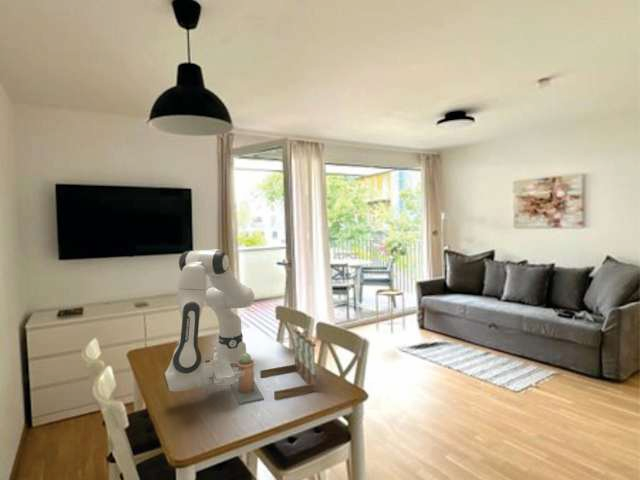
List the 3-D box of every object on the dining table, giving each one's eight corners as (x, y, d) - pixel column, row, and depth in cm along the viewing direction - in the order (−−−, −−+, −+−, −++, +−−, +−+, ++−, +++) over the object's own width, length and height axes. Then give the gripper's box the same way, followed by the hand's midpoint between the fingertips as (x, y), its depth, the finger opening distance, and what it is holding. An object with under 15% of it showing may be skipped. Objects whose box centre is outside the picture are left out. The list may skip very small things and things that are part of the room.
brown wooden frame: (260, 376, 171) (259, 333, 170) (297, 369, 178) (296, 328, 177) (274, 399, 149) (273, 350, 148) (316, 390, 156) (315, 343, 155)
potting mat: (230, 384, 164) (230, 382, 164) (252, 380, 168) (252, 378, 167) (239, 404, 145) (239, 402, 145) (264, 399, 149) (263, 397, 149)
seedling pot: (236, 387, 158) (235, 351, 157) (252, 384, 161) (251, 349, 160) (239, 395, 152) (238, 357, 151) (256, 391, 154) (255, 354, 154)
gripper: (211, 376, 140) (247, 370, 145) (205, 358, 159) (237, 353, 164) (211, 392, 140) (247, 385, 146) (205, 372, 159) (237, 367, 165)
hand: (242, 368), depth 155 cm, fingers open, 8 cm apart
